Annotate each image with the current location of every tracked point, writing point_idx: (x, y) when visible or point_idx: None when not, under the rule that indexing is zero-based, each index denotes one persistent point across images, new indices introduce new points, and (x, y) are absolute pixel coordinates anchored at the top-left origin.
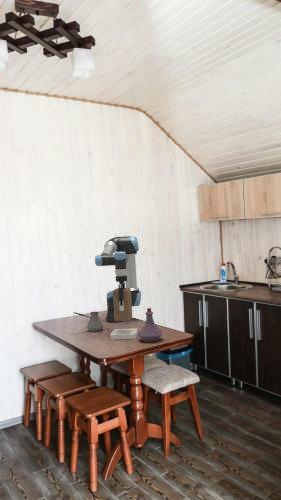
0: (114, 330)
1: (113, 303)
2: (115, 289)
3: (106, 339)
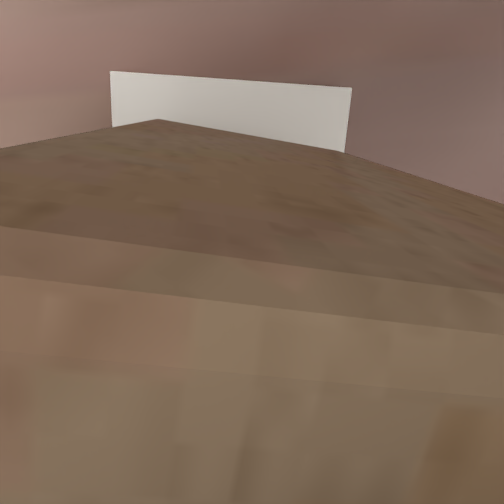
0: (294, 99)
1: (101, 129)
2: (352, 442)
3: (130, 32)
